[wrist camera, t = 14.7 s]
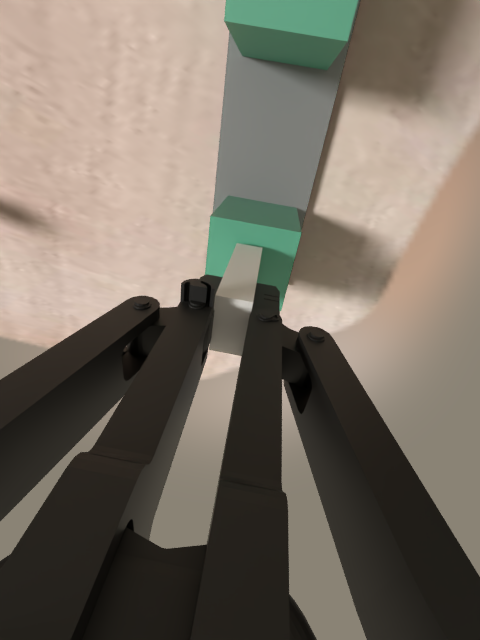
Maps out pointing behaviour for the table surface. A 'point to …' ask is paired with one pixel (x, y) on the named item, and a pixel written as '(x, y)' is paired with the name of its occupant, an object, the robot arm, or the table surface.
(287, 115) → the stand
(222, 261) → the green block
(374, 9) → the table surface
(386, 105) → the table surface
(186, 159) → the table surface
